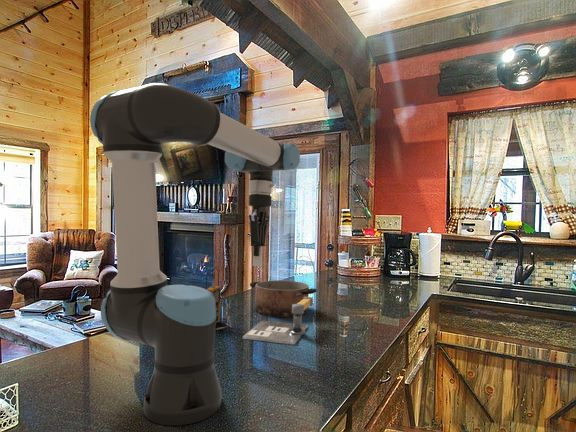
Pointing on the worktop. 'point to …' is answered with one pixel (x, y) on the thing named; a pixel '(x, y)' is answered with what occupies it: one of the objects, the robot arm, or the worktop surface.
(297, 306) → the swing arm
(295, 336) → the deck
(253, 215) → the robot arm
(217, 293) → the multimeter
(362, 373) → the worktop surface
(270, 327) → the label
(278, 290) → the cooking pot
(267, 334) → the label
